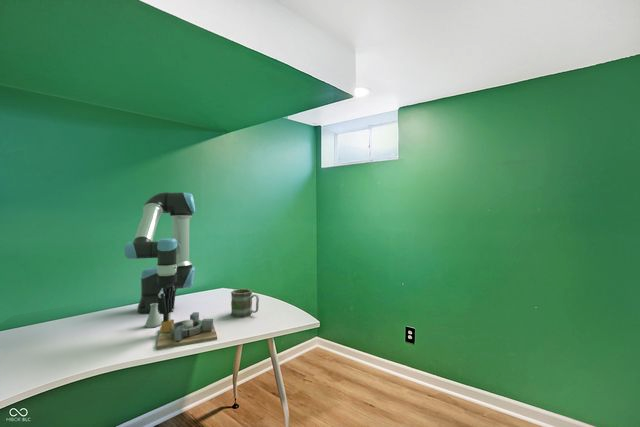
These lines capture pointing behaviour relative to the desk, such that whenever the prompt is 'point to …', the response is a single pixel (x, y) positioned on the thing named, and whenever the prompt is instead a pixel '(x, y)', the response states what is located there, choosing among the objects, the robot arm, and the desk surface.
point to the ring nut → (181, 332)
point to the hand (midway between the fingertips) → (167, 327)
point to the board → (168, 340)
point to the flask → (153, 317)
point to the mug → (243, 303)
